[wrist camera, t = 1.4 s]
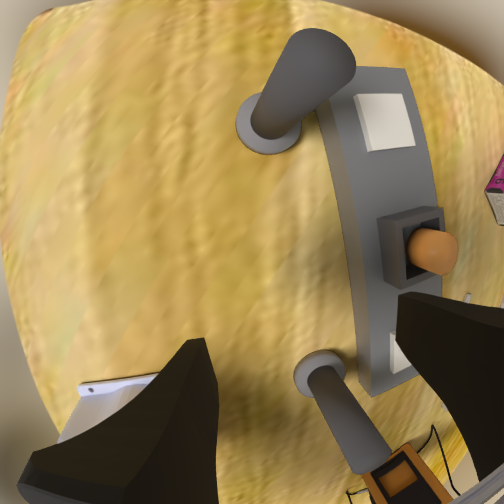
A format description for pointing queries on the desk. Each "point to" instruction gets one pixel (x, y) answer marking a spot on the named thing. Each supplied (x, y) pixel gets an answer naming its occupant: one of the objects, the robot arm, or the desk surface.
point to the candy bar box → (497, 193)
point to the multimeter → (406, 480)
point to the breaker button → (432, 250)
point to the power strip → (380, 209)
